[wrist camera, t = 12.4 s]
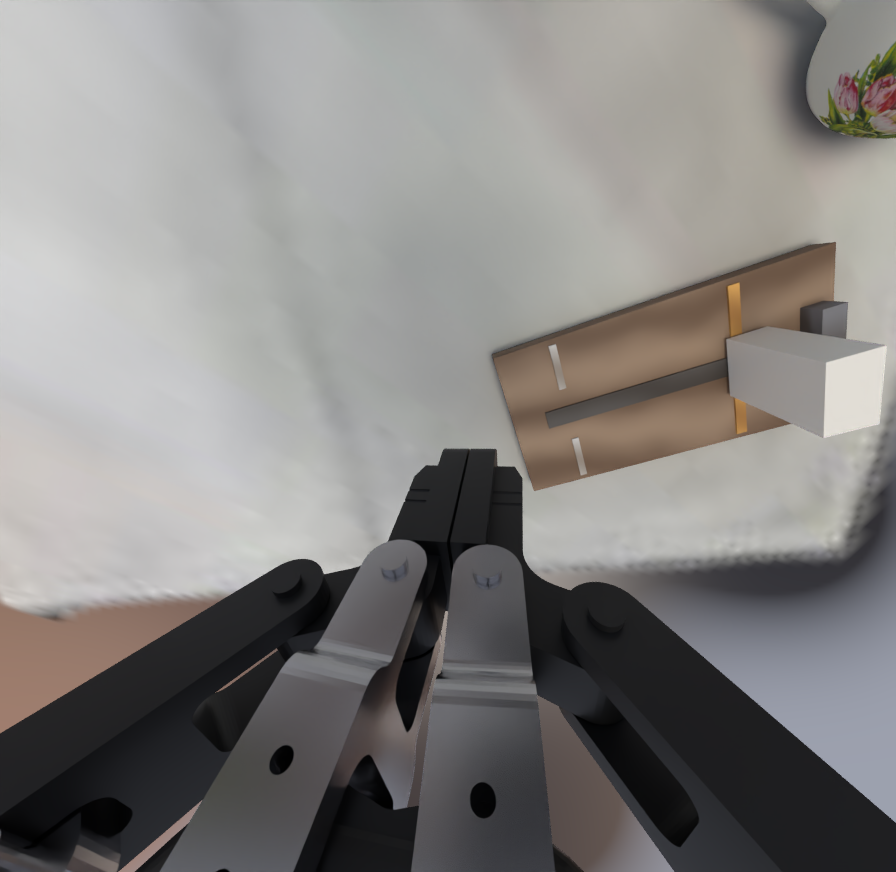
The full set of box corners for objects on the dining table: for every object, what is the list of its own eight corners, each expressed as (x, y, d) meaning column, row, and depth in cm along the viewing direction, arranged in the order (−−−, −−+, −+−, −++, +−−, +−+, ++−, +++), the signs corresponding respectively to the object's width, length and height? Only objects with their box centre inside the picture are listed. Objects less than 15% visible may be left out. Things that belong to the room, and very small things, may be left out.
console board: (491, 354, 33) (494, 363, 30) (812, 244, 28) (862, 239, 25) (531, 480, 38) (537, 502, 34) (809, 406, 33) (851, 421, 30)
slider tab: (726, 339, 29) (826, 362, 21) (767, 326, 29) (886, 345, 20) (729, 395, 31) (823, 438, 23) (768, 384, 30) (879, 423, 22)
